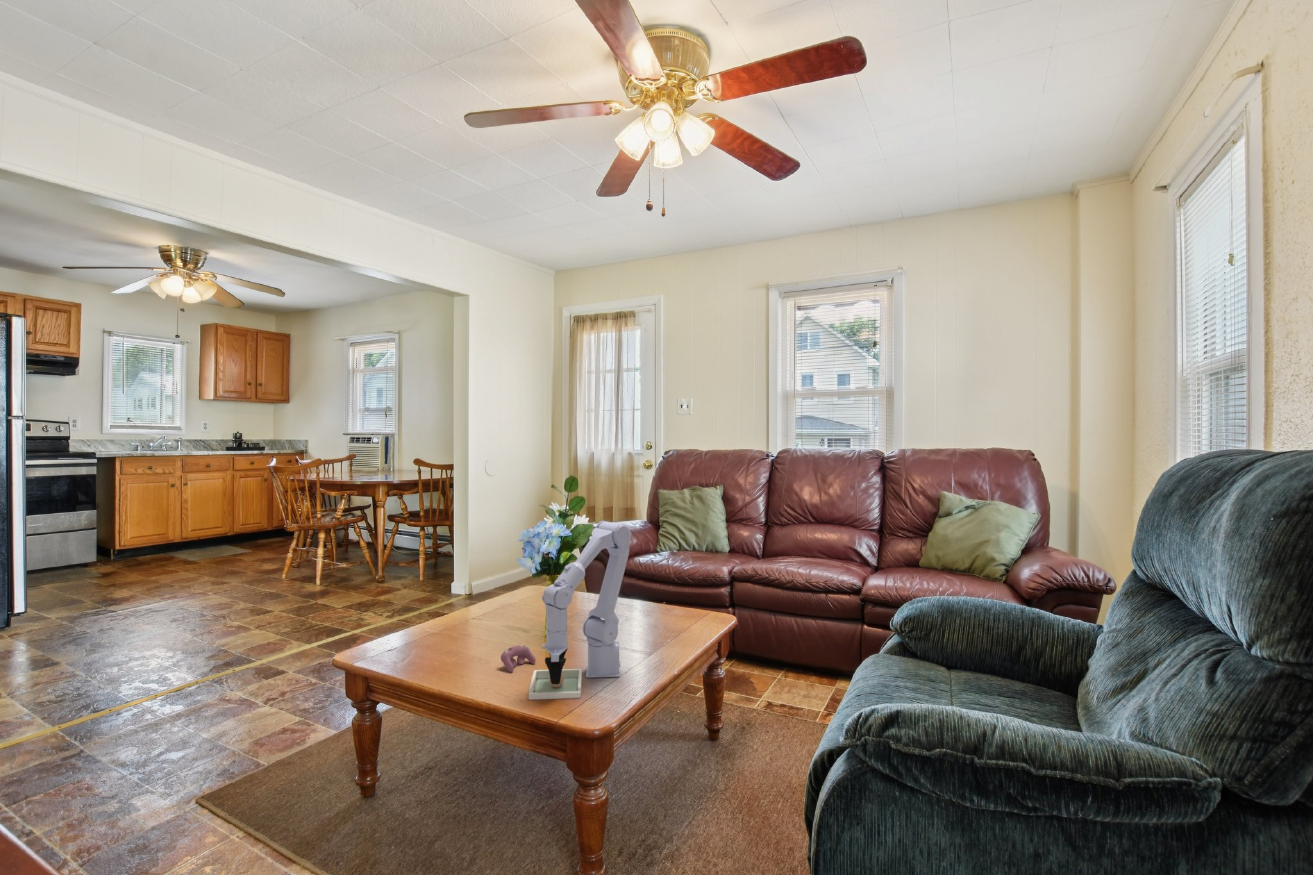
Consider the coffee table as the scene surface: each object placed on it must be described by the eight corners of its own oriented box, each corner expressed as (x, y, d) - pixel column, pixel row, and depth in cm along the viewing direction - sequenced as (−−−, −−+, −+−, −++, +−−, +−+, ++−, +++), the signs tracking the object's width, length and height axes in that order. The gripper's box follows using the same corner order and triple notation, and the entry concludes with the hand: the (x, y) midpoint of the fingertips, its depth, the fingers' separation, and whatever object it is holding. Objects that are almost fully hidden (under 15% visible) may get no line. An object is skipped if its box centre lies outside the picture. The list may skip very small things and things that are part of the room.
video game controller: (529, 665, 188) (522, 643, 189) (537, 662, 185) (531, 639, 187) (502, 675, 180) (496, 652, 182) (511, 672, 177) (504, 648, 179)
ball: (564, 683, 170) (564, 669, 170) (563, 689, 166) (563, 675, 166) (549, 684, 169) (549, 669, 169) (548, 690, 165) (548, 675, 165)
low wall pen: (581, 677, 175) (582, 668, 175) (580, 697, 162) (580, 688, 161) (534, 678, 174) (534, 670, 174) (528, 699, 160) (528, 690, 160)
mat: (577, 679, 174) (577, 677, 174) (576, 696, 162) (576, 695, 162) (537, 680, 173) (537, 679, 173) (533, 697, 161) (533, 696, 161)
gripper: (544, 621, 174) (544, 668, 174) (539, 638, 160) (539, 689, 160) (569, 620, 175) (568, 667, 175) (566, 637, 161) (566, 688, 161)
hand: (556, 678), depth 168 cm, fingers open, 7 cm apart
